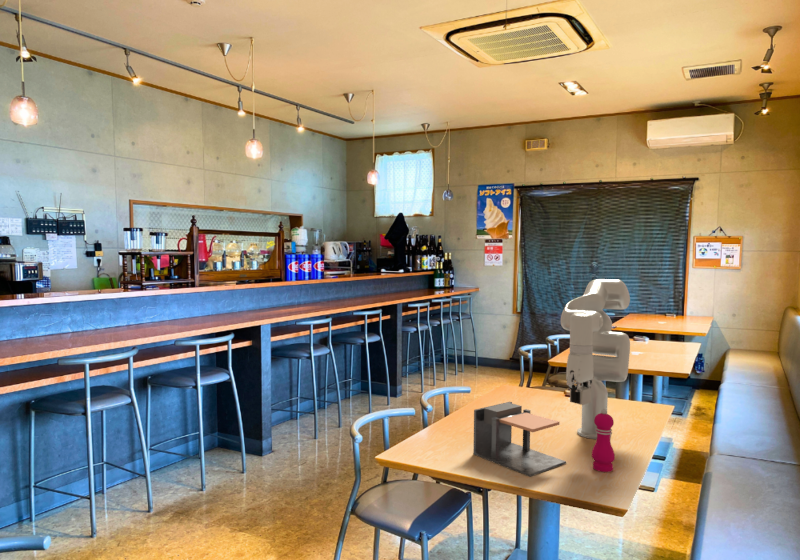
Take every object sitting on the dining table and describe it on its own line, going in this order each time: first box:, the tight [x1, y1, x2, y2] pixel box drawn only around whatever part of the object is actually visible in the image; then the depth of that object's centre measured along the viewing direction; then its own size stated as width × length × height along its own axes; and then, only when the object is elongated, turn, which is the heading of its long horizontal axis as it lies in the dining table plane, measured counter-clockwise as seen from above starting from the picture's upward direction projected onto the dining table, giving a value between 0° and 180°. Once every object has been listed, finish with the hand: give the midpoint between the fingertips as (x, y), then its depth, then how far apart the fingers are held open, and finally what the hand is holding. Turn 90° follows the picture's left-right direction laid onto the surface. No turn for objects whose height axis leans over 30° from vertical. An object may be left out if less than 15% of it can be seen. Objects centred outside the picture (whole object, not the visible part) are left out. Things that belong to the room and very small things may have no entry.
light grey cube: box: [569, 385, 591, 406], centre depth 194 cm, size 5×5×5 cm
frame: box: [472, 401, 567, 478], centre depth 193 cm, size 19×25×16 cm
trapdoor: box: [483, 402, 560, 433], centre depth 193 cm, size 14×22×5 cm, turn 38°
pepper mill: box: [591, 409, 616, 473], centre depth 185 cm, size 7×7×20 cm
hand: (580, 400), depth 195 cm, fingers closed on light grey cube, 5 cm apart
